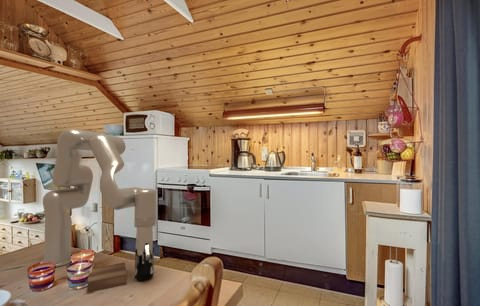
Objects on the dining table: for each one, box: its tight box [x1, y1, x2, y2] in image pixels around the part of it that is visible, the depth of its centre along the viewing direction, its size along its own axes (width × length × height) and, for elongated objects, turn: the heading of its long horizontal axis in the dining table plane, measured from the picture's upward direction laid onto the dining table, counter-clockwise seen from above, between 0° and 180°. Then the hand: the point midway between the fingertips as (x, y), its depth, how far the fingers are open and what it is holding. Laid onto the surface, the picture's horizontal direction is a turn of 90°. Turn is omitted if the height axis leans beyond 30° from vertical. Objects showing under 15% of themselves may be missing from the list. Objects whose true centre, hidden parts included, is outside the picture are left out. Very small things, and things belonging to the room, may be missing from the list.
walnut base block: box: [86, 262, 128, 294], centre depth 90 cm, size 12×12×4 cm
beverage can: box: [134, 247, 155, 283], centre depth 92 cm, size 7×7×12 cm
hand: (144, 269), depth 92 cm, fingers closed on beverage can, 6 cm apart
